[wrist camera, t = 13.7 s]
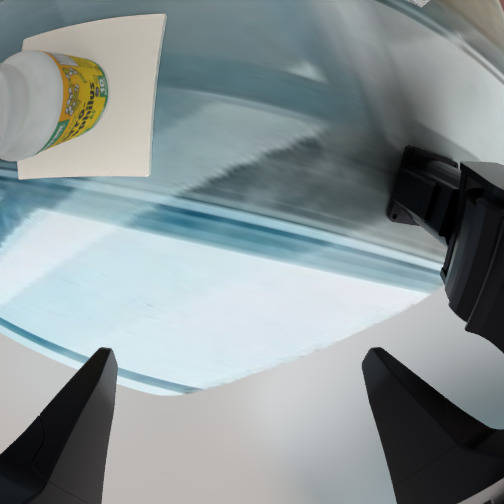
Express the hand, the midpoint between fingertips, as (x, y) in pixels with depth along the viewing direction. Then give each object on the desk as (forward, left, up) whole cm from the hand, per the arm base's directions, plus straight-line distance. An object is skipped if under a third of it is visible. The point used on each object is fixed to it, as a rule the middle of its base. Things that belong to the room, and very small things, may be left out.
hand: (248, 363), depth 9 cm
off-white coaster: (+11, -8, -13) cm, 19 cm away
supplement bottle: (+11, -8, -12) cm, 18 cm away
